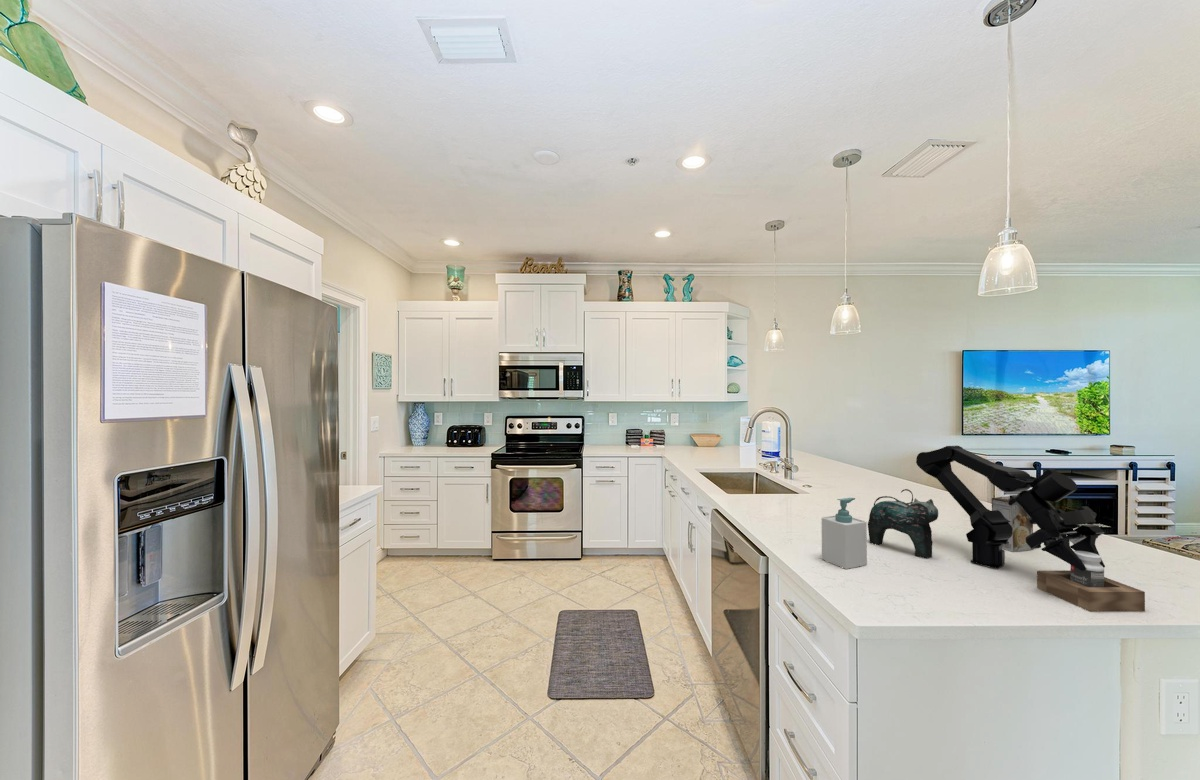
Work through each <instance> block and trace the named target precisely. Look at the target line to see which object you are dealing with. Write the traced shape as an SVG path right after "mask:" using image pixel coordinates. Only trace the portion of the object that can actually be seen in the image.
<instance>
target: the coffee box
mask: <svg viewBox="0 0 1200 780" xmlns="http://www.w3.org/2000/svg"><path fill="white" fill-rule="evenodd" d="M1009 496H1010V495H1009ZM1009 496H1000V497H991V511H993V510H999V511H1000V512H1001V513H1002V514H1003V516H1004V517H1005V518H1006V519H1007V520H1009V521H1010V522H1008V523H1009V524H1010V525H1011V526H1012V528H1013V530H1012V536H1011V537H1010V538H1009V539H1008V542H1007V544H1002V550H1004V551H1007V550H1008V552H1011V553H1015V552H1016V553H1017V552H1025V551H1030V550H1031V551H1032V550H1033V549H1031V548H1030V547H1029V546H1028V544H1027V543H1026V537H1027V536H1029V535H1031V534H1032V533H1034V524H1031V523H1030V522H1029V521H1030V520H1031V518H1030V516H1029V515H1028V514H1027V513H1026V512H1025V511H1024V510H1023V509H1022V507H1021V506H1020V505H1009V504H1008V503H1009V499H1010V497H1009Z"/></svg>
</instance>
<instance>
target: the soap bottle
mask: <svg viewBox="0 0 1200 780" xmlns="http://www.w3.org/2000/svg"><path fill="white" fill-rule="evenodd" d="M855 500H856V498H855V497H847V498H845V497H844V498H837V501H839V502H840V503H839V505H840V509H838V510H837V513H836V514H834V515H830V516H829V515H828V516H823V517H821V560H822V559H824V560H826V561H825V562H827V561H828V563H829V562H830V563H829V564H832V563H833V564H832V565H834V564H835V566H837V565H838V566H837V567H839V566H840V568H842V567H843V568H842V569H844V568H845V569H844V570H848V569H849V568H850V569H855V568H858V567H859V566H860V567H864V566H867V565H868V557H867V556H868V550H867V549H868V545H867V544H868V543H867V542H868V539H867V538H868V534H867V530H868V522H867V521H865V520H862V519H860V518H859V519H858V518H855V517H853V515H852V514H850V511H849V510H848V509H847V507H848V505H847V504H849V503H851V502H853V501H855ZM824 560H823V561H824ZM854 567H855V568H854ZM850 569H849V570H850Z"/></svg>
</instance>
